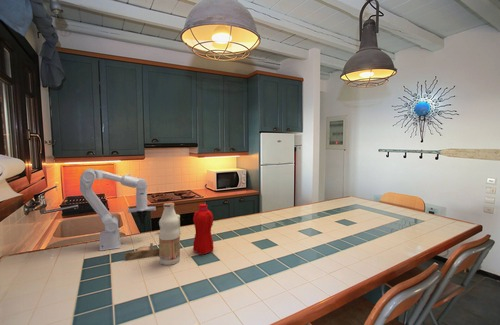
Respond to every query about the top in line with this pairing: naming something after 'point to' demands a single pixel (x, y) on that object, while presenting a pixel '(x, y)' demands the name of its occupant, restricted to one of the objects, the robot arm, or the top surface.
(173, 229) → the fruit juice
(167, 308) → the top surface
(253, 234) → the top surface
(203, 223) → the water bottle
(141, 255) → the mortise joint
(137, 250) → the tan rounded pebble
